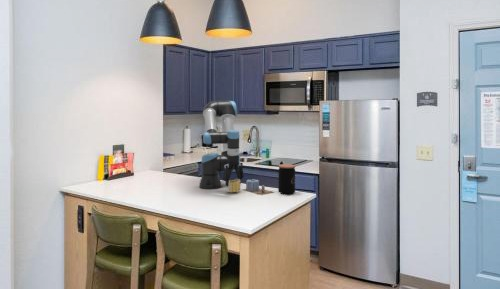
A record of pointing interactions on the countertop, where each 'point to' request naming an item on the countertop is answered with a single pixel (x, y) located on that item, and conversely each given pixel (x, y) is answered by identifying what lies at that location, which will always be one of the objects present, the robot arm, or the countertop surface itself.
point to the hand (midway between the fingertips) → (233, 190)
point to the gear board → (260, 191)
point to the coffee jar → (286, 179)
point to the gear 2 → (252, 185)
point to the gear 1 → (234, 186)
